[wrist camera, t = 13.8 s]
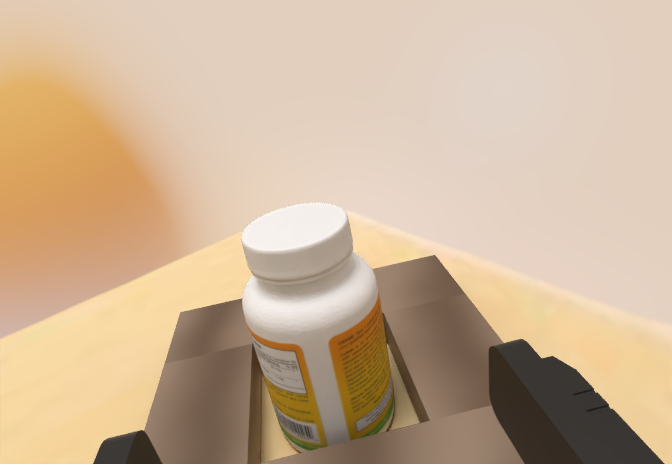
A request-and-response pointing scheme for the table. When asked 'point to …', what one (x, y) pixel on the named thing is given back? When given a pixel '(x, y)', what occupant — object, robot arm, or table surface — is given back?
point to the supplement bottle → (317, 326)
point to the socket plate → (360, 454)
